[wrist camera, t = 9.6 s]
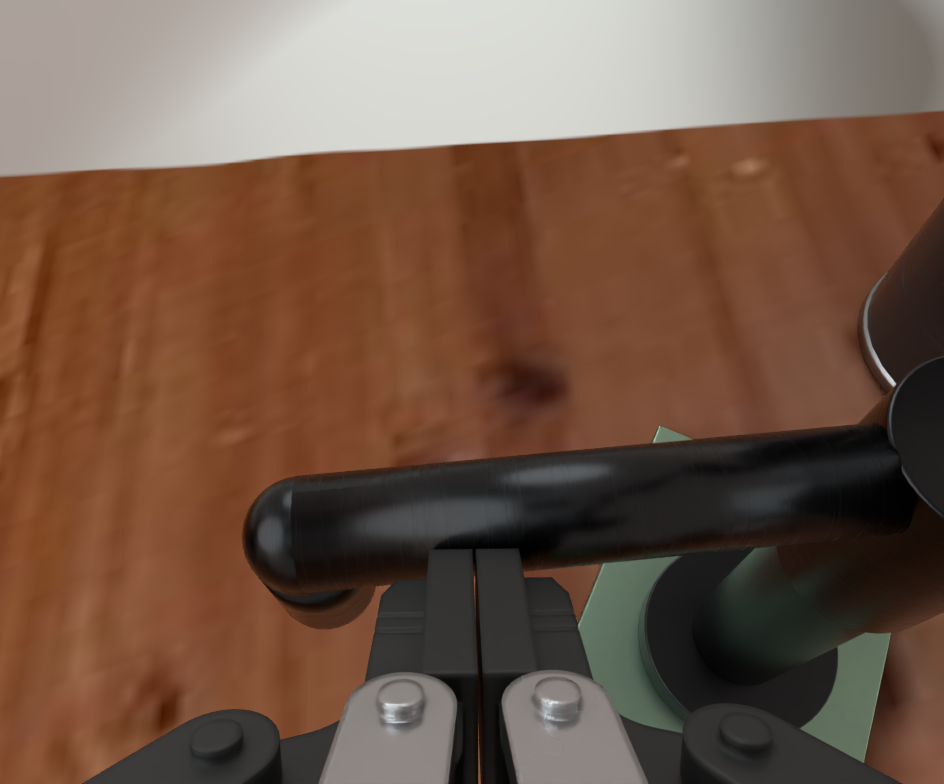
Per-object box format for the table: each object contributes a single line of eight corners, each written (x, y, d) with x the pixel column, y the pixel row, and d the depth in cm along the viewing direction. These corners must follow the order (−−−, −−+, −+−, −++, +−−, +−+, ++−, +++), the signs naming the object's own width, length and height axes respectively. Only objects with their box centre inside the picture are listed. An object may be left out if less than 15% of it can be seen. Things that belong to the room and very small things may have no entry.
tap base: (653, 437, 32) (731, 271, 23) (898, 539, 30) (1099, 403, 20) (514, 777, 26) (540, 746, 16) (811, 934, 24) (1042, 1006, 14)
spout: (905, 469, 19) (1058, 342, 14) (968, 625, 17) (1170, 542, 12) (297, 527, 18) (233, 415, 13) (296, 696, 16) (221, 640, 12)
